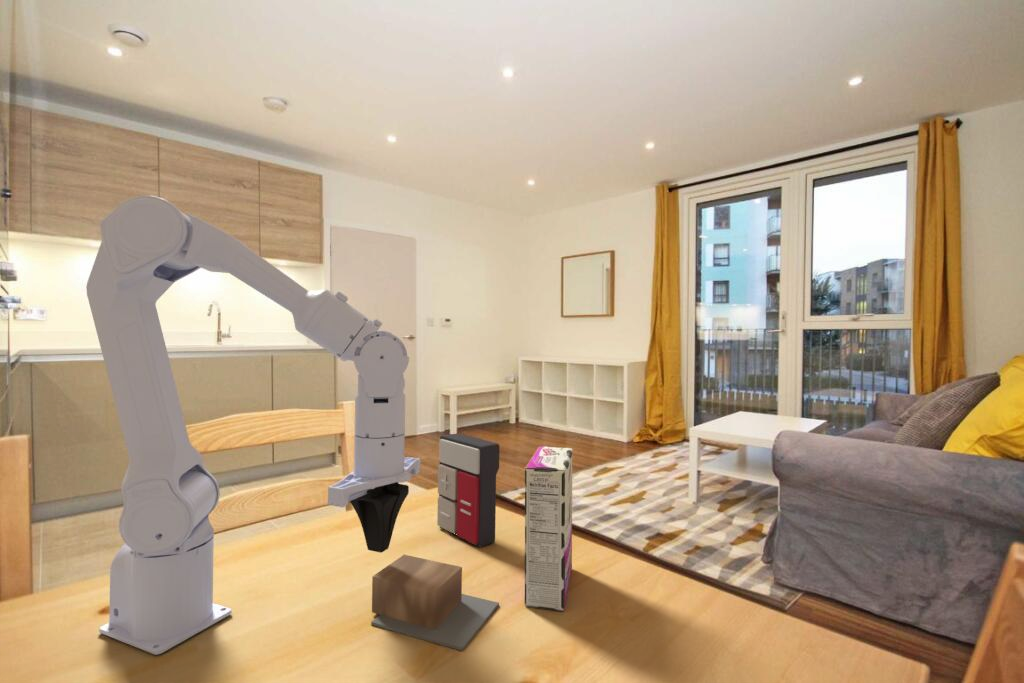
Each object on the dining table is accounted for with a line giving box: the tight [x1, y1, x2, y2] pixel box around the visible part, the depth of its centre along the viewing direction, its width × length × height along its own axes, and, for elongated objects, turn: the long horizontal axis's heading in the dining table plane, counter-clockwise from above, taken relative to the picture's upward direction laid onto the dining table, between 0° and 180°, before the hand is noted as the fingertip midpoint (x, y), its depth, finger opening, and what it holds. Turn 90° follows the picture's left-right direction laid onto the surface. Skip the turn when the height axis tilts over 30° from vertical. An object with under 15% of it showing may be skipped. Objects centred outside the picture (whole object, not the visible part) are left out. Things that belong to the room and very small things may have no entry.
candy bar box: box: [524, 445, 574, 612], centre depth 61 cm, size 11×5×16 cm, turn 168°
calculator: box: [436, 433, 500, 548], centre depth 76 cm, size 11×4×15 cm, turn 43°
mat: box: [371, 593, 500, 652], centre depth 54 cm, size 11×9×1 cm
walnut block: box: [371, 554, 463, 630], centre depth 55 cm, size 4×6×8 cm
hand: (378, 549), depth 57 cm, fingers closed
